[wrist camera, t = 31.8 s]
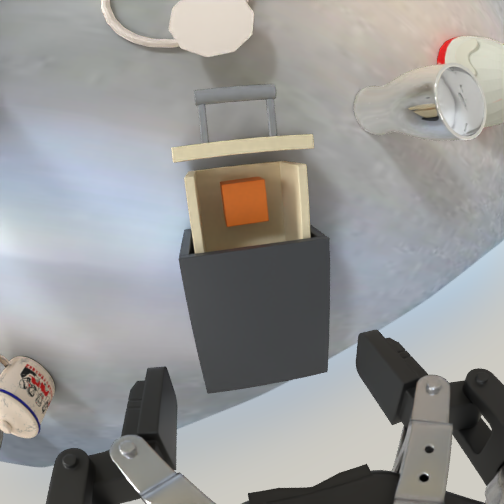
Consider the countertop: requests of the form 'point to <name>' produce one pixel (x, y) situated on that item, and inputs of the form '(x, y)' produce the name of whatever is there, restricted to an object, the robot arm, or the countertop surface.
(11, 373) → the teacup with lid
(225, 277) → the dark grey cabinet box
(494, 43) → the kitchen timer
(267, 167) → the drawer
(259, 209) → the orange matte cube
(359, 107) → the chrome metal cylinder
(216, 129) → the countertop surface
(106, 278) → the countertop surface
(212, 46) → the hand towel holder
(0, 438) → the planter
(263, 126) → the countertop surface
